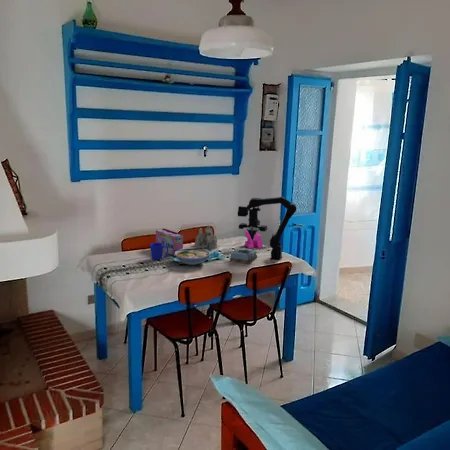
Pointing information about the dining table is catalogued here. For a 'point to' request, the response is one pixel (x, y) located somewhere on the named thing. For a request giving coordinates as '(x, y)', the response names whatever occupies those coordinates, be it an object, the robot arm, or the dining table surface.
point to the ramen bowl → (192, 255)
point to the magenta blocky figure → (253, 241)
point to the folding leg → (241, 256)
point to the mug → (157, 251)
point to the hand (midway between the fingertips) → (252, 239)
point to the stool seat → (246, 251)
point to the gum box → (169, 240)
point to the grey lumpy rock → (206, 239)
